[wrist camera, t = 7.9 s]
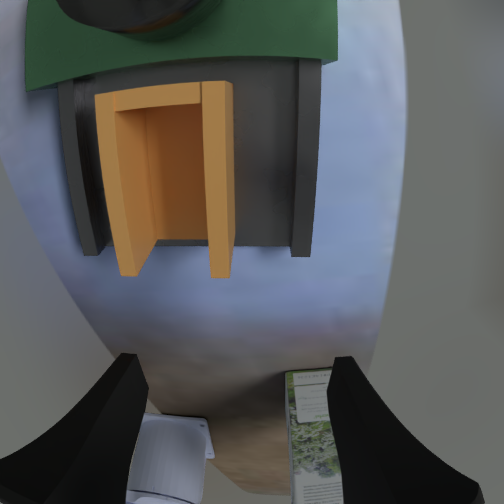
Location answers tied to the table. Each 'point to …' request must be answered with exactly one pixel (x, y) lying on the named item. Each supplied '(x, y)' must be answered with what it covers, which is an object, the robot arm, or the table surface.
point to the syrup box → (311, 439)
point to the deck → (195, 70)
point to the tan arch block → (169, 169)
